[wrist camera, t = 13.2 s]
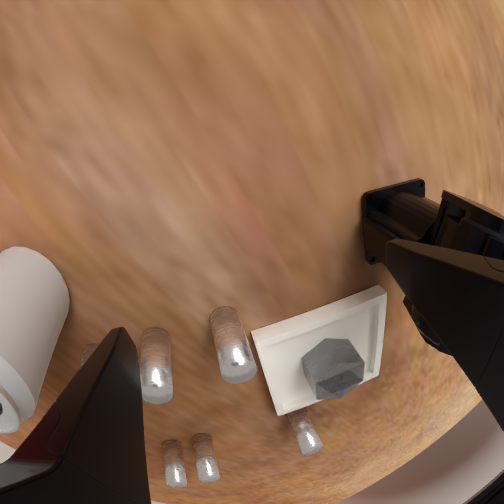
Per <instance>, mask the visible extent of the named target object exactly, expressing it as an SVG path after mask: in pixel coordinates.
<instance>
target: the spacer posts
mask: <svg viewBox="0 0 504 504" xmlns="http://www.w3.org/2000/svg"><path fill="white" fill-rule="evenodd" d="M210 323H211V328H212V333H213V338H214V343H215V348H216V352H217V357H218V362H219V366H220V371H221V375H222V378H223V379H224V380H225V381H226V382H228V383H232V384H240V383H244V382H247V381H249V380H250V379H252V378H253V377H254V376H255V374H256V373H257V366H256V363H255V360H254V357H253V355H252V352H251V349H250V346H249V343H248V340H247V337H246V334H245V331H244V328H243V325H242V322H241V319H240V316H239V313H238V311H237V310H236V309H234V308H232V307H228V306H224V307H220V308H218V309H216V310H215V311H213V313H212V314H211V316H210ZM97 347H98V344H88V345H86V346H85V347H84V350H83V354H82V358H81V362H80V366H79V369H80V368H81V367H82V366H83V364H84V363H85V362H86V360H87V359H88V358H89V357H90V355H91V354H92V353H93V352H94V350H95V349H96V348H97ZM78 371H79V370H78ZM140 380H141V388H142V399H143V400H144V401H146V402H148V403H152V404H164V403H167V402H169V401H170V400H171V399H172V398H173V383H172V366H171V343H170V335H169V333H168V332H167V331H166V330H164V329H162V328H158V327H152V328H149V329H147V330H145V331H144V332H143V334H142V343H141V357H140ZM287 416H288V419H289V421H290V424H291V426H292V429H293V431H294V434H295V436H296V439H297V441H298V443H299V446H300V448H301V451H302V453H303V454H304V455H310V454H313V453H315V452H317V451H319V450H321V449H322V447H323V445H322V442H321V440H320V438H319V436H318V434H317V432H316V429H315V427H314V425H313V423H312V421H311V419H310V416H309V414H308V412H307V410H306V408H305V407H303V408H300V409H298V410H295V411H292V412H289V413H287ZM192 440H193V447H194V454H195V460H196V466H197V472H198V478H199V481H200V482H205V483H209V482H215V481H218V480H219V479H220V475H219V471H218V466H217V461H216V456H215V452H214V447H213V442H212V437H211V435H209V434H204V433H202V434H197V435H195V436H193V437H192ZM163 453H164V464H165V474H166V484H167V486H169V487H173V488H180V487H185V486H187V479H186V472H185V465H184V458H183V450H182V443H181V442H180V441H177V440H167V441H164V442H163Z"/></svg>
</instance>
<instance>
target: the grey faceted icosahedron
mask: <svg viewBox="0 0 504 504" xmlns="http://www.w3.org/2000/svg"><path fill="white" fill-rule="evenodd" d="M302 362H303V369H304V375H305V377H306V379H307V381H308V383H309V385H310V387H311V389H312V391H313V393H314V395H315V397H316V400H322V399H334V398H341V397H342V396H344V395H345V394H346V393H348V392H349V391H350V390H352V389H353V388H354V387H355V386H357V385H358V384H359V383H361V382H362V381H363V378H364V368H365V362H364V360H363V359H362V358H361V356H360V355H359V353H358V352H357V351H356V349H355V348H354V346H353V345H352V343H351V342H350V341H349V339H332V338H325V339H324V340H322V341H321V342H320V343H319V344H317V345H316V346H315V347H314V348H313V349H311V350H310V351H309V352H308V353H306V354H305V355H304V356H303V357H302Z"/></svg>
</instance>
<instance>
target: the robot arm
mask: <svg viewBox="0 0 504 504" xmlns="http://www.w3.org/2000/svg"><path fill="white" fill-rule="evenodd" d="M419 183H420V185H419ZM370 196H371V198H370V200H368V198H369V197H370ZM441 197H442V201H441V204H438V203H436V202H433V201H431V200H429V199H427V198H425V182H424V180H422V179H420V178H417V179H413V180H410V181H406V182H402V183H398V184H394V185H390V186H387V187H383V188H379V189H375V190H371V191H368V192H366V193H365V194H364V195H363V210H364V221H363V230H364V248H365V251H366V261H367V263H369V264H370V265H373V264H376V263H378V262H382V263H383V264H384V265H385V266H386V267H387V269H388V270H389V272H390V273H391V275H392V276H393V278H394V279H395V280H396V282H397V283H398V285H399V286H400V288H401V289H402V291H403V292H404V294H405V295H406V296H405V298H404V300H403V303H404V305H405V306H406V308H407V310H408V312H409V314H410V316H411V317H412V319H413V321H414V323H415V325H416V327H417V329H418V331H419V332H420V334H421V336H422V337H423V339H424V340H425V342H426V343H428V344H430V345H431V346H432V347H434V348H436V349H437V350H438V351H440V352H443V353H445V354H448V355H451V356H453V357H454V359H455V360H456V361H457V363H458V364H459V365H460V367H461V368H462V370H463V371H464V372H465V374H466V375H467V377H468V378H469V380H470V381H471V382H472V384H473V385H474V387H475V388H476V390H477V391H478V393H479V394H480V396H481V397H482V399H483V400H484V402H485V403H486V405H487V406H488V408H489V409H490V411H491V412H492V414H493V416H494V417H495V419H496V421H497V422H498V424H499V425H500V427H501V429H502V430H503V431H504V216H503V215H501V214H500V213H498V212H496V211H494V210H492V209H490V208H488V207H485V206H483V205H481V204H479V203H477V202H475V201H472V200H469V199H467V198H464V197H462V196H459V195H456V194H453V193H451V192H448V191H445V190H443V192H442V196H441ZM372 257H373V258H372ZM371 258H372V259H371ZM0 504H151V499H150V492H149V483H148V475H147V465H146V454H145V442H144V426H143V405H142V388H141V380H140V372H139V364H138V356H137V349H136V346H135V344H134V342H133V341H132V339H131V338H130V336H129V334H128V333H127V331H126V329H125V328H124V327H118V328H115V329H112V330H111V331H110V332H109V333H108V334H107V336H106V337H105V338H104V339H103V340H102V342H101V343H100V344H99V345H98V347H97V348H96V349H95V350H94V352H93V353H92V354H91V355H90V357H89V358H88V359H87V360H86V362H85V363H84V364H83V366H82V367H81V368H80V369H79V371H78V372H77V373H76V375H75V376H74V377H73V378H72V380H71V381H70V382H69V384H68V385H67V386H66V388H65V389H64V390H63V392H62V393H61V394H60V396H59V397H58V398H57V400H56V402H54V404H53V405H52V406H51V408H50V409H49V410H48V412H47V413H46V414H45V416H44V417H43V418H42V420H41V421H40V422H39V423H38V425H37V426H36V427H35V428H34V429H33V431H32V432H31V433H30V434H29V435H28V437H27V438H26V439H25V440H24V441H23V443H22V444H21V445H20V446H19V448H18V449H17V450H16V451H15V452H14V454H13V455H12V456H11V457H10V458H9V459H8V460H6V461H5V462H3V463H1V464H0ZM463 504H504V470H503V471H502V472H500V473H499V474H498V475H497V476H496V477H495V478H494V479H493V480H492V481H491V482H489V483H488V484H487V485H486V486H485V487H483V489H481V490H480V491H479V492H477V493H476V494H475V495H474V496H473V497H471V498H470V499H469V500H467V501H466V502H465V503H463Z"/></svg>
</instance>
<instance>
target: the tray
mask: <svg viewBox="0 0 504 504" xmlns="http://www.w3.org/2000/svg"><path fill="white" fill-rule="evenodd" d="M386 303H387V292H386V291H385V290H384V289H383V288H382V287H381V286H380V285H379V284H378V285H376V286H373V287H371V288H368V289H366V290H363V291H361V292H358V293H356V294H353V295H351V296H348V297H346V298H343V299H341V300H338V301H335V302H333V303H330V304H327V305H325V306H322V307H319V308H317V309H314V310H311V311H308V312H306V313H303V314H300V315H297V316H294V317H291V318H289V319H286V320H283V321H280V322H277V323H274V324H271V325H268V326H265V327H262V328H259V329H256V330H253V331H251V334H252V337H253V341H254V344H255V347H256V350H257V353H258V357H259V360H260V363H261V366H262V369H263V372H264V375H265V379H266V382H267V385H268V388H269V391H270V394H271V397H272V400H273V403H274V406H275V409H276V412H277V414H278V416H280V415H283V414H286V413H289V412H292V411H295V410H298V409H300V408H303V407H306V406H308V405H311V404H314V403H316V402H319V401H321V400H316V397H315V395H314V393H313V391H312V389H311V387H310V385H309V383H308V381H307V379H306V377H305V375H304V369H303V362H302V357H303V356H304V355H305V354H306V353H308V352H309V351H310V350H311V349H313V348H314V347H315V346H316V345H317V344H319V343H320V342H321V341H322V340H324V339H325V338H332V339H349V341H350V342H351V343H352V345H353V346H354V348H355V349H356V351H357V352H358V353H359V355H360V356H361V358H362V359H363V360H364V362H365V368H364V378H363V381H362V382H361V383H363V382H365V381H367V380H370V379H372V378H374V377H376V376H378V375H379V369H380V362H381V354H382V346H383V337H384V327H385V316H386ZM361 383H359V384H361ZM359 384H358V385H359ZM322 400H324V399H322Z"/></svg>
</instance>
